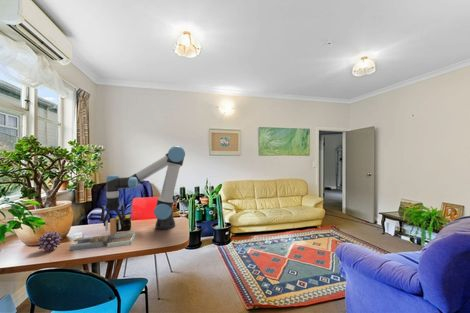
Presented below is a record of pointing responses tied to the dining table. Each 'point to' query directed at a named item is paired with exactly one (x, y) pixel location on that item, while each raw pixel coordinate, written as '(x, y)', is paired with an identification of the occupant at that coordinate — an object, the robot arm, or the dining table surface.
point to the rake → (112, 227)
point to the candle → (124, 224)
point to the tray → (122, 241)
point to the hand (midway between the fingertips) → (113, 229)
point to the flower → (49, 240)
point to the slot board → (89, 244)
